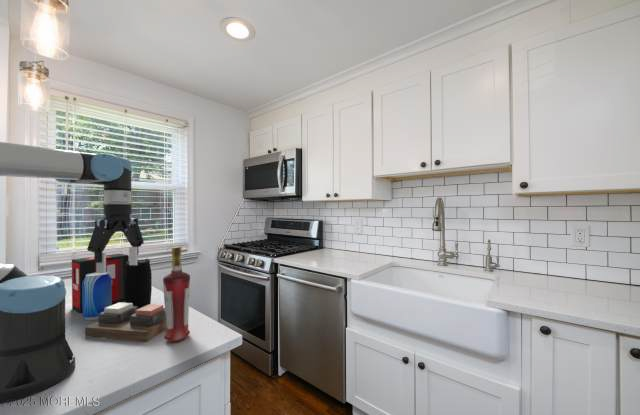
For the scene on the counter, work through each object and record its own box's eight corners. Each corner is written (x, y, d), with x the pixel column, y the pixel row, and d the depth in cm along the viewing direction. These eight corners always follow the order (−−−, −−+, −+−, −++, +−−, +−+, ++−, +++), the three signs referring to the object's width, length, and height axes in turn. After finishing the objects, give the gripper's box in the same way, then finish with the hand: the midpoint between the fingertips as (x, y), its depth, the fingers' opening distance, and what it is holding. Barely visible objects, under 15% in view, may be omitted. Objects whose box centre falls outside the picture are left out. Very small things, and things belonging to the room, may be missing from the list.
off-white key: (118, 315, 87) (118, 309, 87) (104, 314, 88) (104, 308, 88) (132, 308, 92) (132, 303, 92) (119, 308, 93) (119, 302, 93)
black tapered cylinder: (155, 304, 112) (154, 257, 112) (144, 312, 103) (144, 262, 103) (132, 305, 111) (132, 258, 111) (120, 314, 102) (119, 262, 102)
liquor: (162, 337, 83) (161, 247, 83) (188, 331, 87) (187, 245, 87) (165, 347, 77) (164, 250, 77) (192, 339, 81) (191, 247, 81)
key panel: (145, 342, 80) (145, 321, 80) (85, 336, 84) (85, 317, 84) (178, 322, 94) (178, 305, 94) (125, 318, 98) (124, 302, 98)
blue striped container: (101, 320, 96) (100, 276, 96) (76, 321, 95) (75, 277, 95) (117, 311, 104) (116, 270, 104) (94, 312, 104) (94, 271, 104)
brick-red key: (150, 317, 85) (150, 311, 85) (135, 316, 86) (135, 310, 86) (163, 310, 90) (163, 304, 90) (149, 310, 91) (149, 304, 91)
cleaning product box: (119, 297, 122) (119, 253, 122) (128, 300, 117) (128, 255, 117) (72, 309, 108) (71, 259, 108) (80, 313, 103) (80, 261, 103)
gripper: (92, 202, 78) (92, 277, 78) (154, 204, 101) (155, 262, 101) (70, 203, 79) (71, 276, 79) (137, 204, 102) (138, 261, 102)
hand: (118, 268), depth 90 cm, fingers open, 11 cm apart
